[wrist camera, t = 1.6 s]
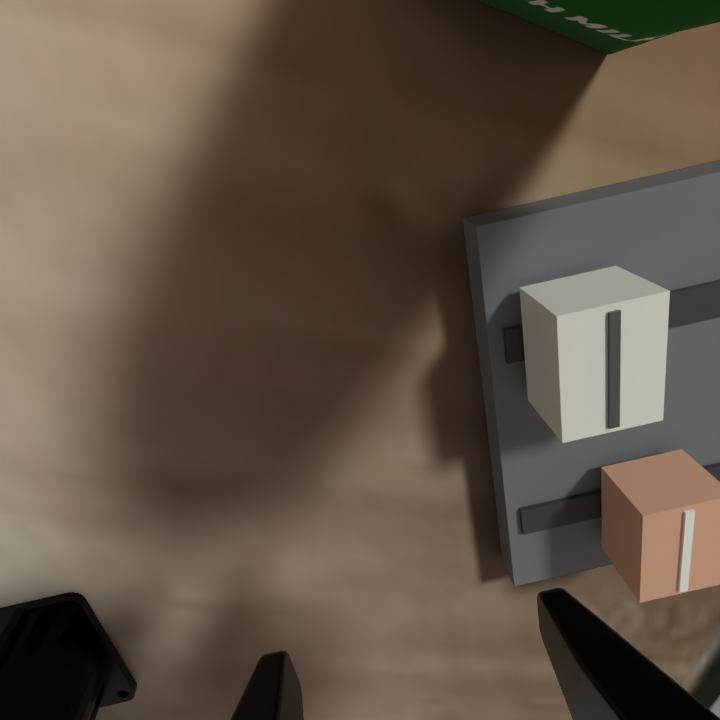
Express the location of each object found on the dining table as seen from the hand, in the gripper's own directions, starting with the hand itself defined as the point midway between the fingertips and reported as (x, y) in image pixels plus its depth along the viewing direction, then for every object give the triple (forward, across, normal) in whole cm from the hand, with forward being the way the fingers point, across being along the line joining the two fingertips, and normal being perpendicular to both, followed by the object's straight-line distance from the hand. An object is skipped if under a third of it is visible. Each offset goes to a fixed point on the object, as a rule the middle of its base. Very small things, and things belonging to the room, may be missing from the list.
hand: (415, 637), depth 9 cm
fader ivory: (+9, -7, 0) cm, 11 cm away
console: (+11, -11, +4) cm, 16 cm away
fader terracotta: (+9, -9, +7) cm, 15 cm away
